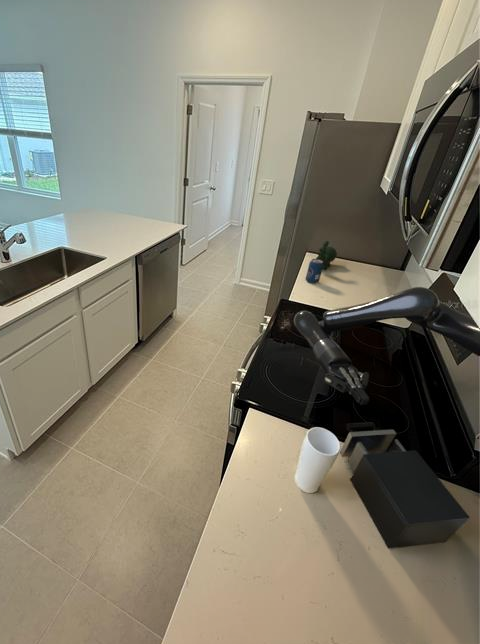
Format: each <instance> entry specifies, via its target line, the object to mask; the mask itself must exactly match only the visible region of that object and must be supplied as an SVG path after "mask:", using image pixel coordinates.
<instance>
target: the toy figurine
mask: <svg viewBox="0 0 480 644" xmlns="http://www.w3.org/2000/svg"><path fill="white" fill-rule="evenodd" d="M329 244H330V242H329V240H325V241H324V242H323V243H322V246H321V247H320V248H318V252H317V257H315V259H319V260H322V261H323V269H322V271H326V270H328V268H330V267H331V263H332V262H334V261H335V259H336V258H337V255H338V253H337V250H336V248H335V247H333V246H329Z"/></svg>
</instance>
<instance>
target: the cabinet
mask: <svg viewBox="0 0 480 644" xmlns="http://www.w3.org/2000/svg"><path fill="white" fill-rule="evenodd" d="M349 480H350V482H351V484H352V486H353V488H354V490H355V491H356V493H357V495H358V497H359V498H360V501H361V502H362V504H363V507H364V508H365V509H366V511H367V514H368V515H369V517H370V519H371V520H372V522H373V524H374V526H375V528H376V530H377V531H378V533H379V535H380V537H381V539H382V540H383V542H384V544H385V546H386V547H387V550H389V549H398V548H407V547H417V546H425V545H434V544H443V543H447V542H448V541H449V540H450V538H451V537H452V536H453V535H454V534H456V532H457V531H458V530H459V529H460V528H461V527H462V526H463V525H464V524H465V523H466V522H467V521H468V520H469V519H470V516H469V515H468V513H467V512H466V511H465V509H464V508H463V507H462V506H461V504H460V502H458V501H457V499H456V498H455V497H454V495H452V493H451V492H450V491H449V489H447V487H446V486H445V485H444V484H443V482H442V481H441V480H440V479H439V477H438V476H437V474H435V472H434V471H433V470H432V469H431V467H430V466H429V464H427V461H425V460H424V459H423V458H422V456H421V455H420V453H419V452H418V451H417V450H415V449H414V450H406V451H401V452H388V453H387V452H385V453H374V454H363V457H362V458H361V460H360V462H359V464H358V466H357V467H356V469H355V471H354V470H353V473H352V475H351V477H350V478H349Z"/></svg>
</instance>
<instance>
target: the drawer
mask: <svg viewBox="0 0 480 644" xmlns="http://www.w3.org/2000/svg"><path fill="white" fill-rule="evenodd" d="M345 429H346V430H347V431H349V432H348V434H347V436H346V438H345V441H344V442H343V444H342V447H341V448H340V451H339V454H340V457H342V458H345V457H349V458H348V463H349V465H350V467H351V469H352V470H353V472H354V471H355V469H356V467H357V466H358V464H359V462H360V460H361V458H362V457H363V454H374V453H388V452H401V451H407V450H406V449H405V447H404V446H403V445H402V443H401V442H400V441H399V439H398V438H397V439H396V438H395V437H396V436H397V432H396V431H395V430H394V429H393V428H392V429H377V428H376V423H375V422H373V421H368V422H367V421H365V422H350V423H345ZM361 430H362V431H361ZM394 438H395V439H394Z"/></svg>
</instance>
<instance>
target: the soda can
mask: <svg viewBox="0 0 480 644" xmlns="http://www.w3.org/2000/svg"><path fill="white" fill-rule="evenodd" d="M322 269H323V261H322V260H319V259H316V258H313V259H311V260H310V262H309V263H308V268H307V271H306V276H305V281H306V283H308V284H311V285H316V284H317V283H319V282H320V279H321V275H322V272H323V270H322Z"/></svg>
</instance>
